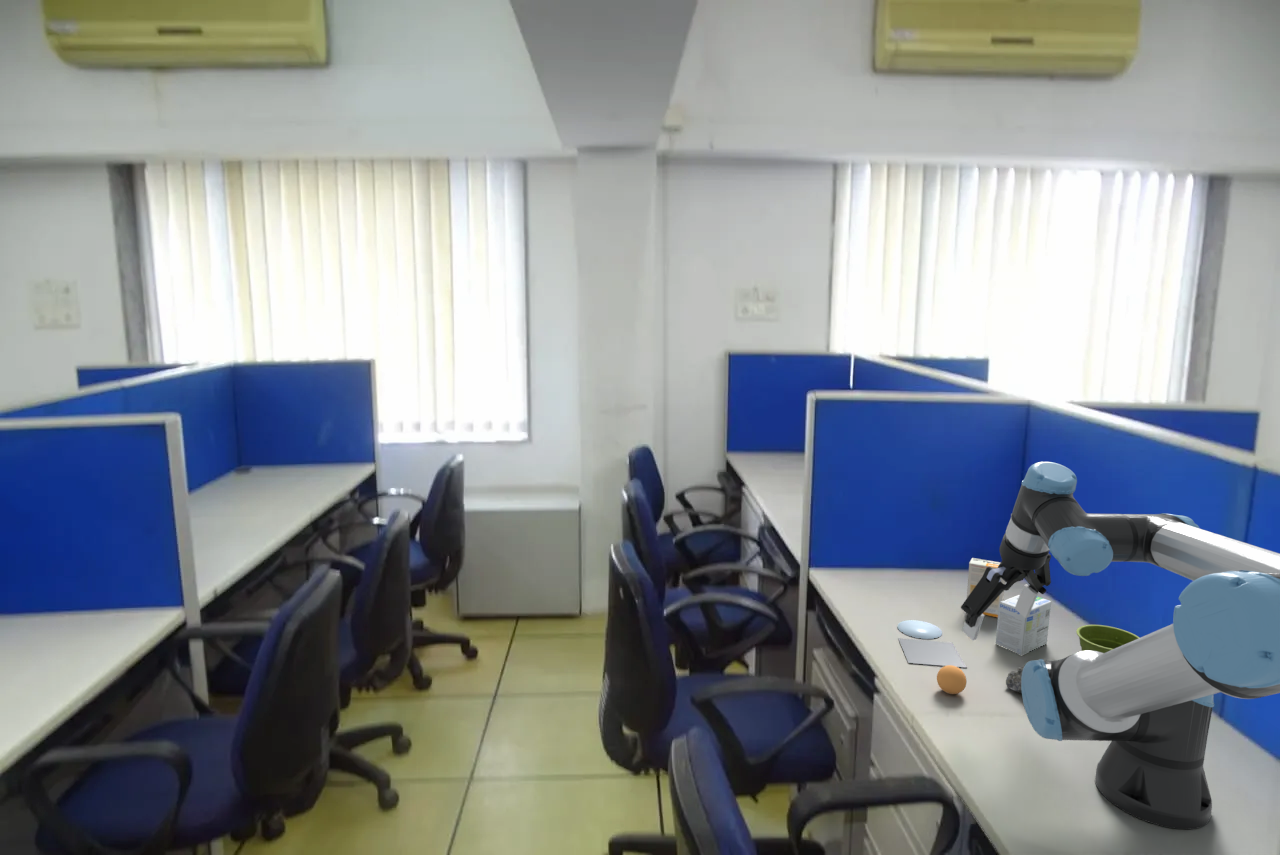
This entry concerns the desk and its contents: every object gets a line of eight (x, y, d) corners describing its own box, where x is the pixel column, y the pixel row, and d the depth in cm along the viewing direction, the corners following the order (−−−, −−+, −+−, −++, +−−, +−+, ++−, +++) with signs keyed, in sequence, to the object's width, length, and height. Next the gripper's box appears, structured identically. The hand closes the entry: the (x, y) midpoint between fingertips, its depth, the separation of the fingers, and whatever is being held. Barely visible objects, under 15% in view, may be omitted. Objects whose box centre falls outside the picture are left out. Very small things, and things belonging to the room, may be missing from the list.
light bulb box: (1019, 633, 174) (1024, 590, 172) (1048, 645, 169) (1053, 600, 167) (993, 645, 168) (998, 600, 167) (1022, 656, 163) (1027, 611, 161)
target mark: (966, 668, 157) (966, 667, 157) (908, 663, 159) (908, 662, 159) (952, 643, 169) (952, 642, 169) (898, 639, 171) (898, 638, 171)
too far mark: (946, 640, 170) (946, 640, 170) (901, 637, 172) (901, 636, 172) (936, 622, 180) (936, 621, 180) (894, 619, 181) (894, 618, 181)
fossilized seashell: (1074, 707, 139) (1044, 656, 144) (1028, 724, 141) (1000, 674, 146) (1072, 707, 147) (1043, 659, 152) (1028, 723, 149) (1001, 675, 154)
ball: (968, 700, 144) (971, 674, 144) (939, 698, 145) (941, 672, 144) (961, 686, 150) (963, 661, 149) (932, 684, 151) (935, 659, 150)
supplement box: (1002, 612, 186) (1007, 563, 184) (1000, 618, 182) (1005, 568, 180) (967, 604, 191) (972, 556, 189) (964, 611, 187) (969, 562, 185)
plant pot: (1068, 669, 157) (1074, 620, 155) (1134, 682, 152) (1140, 631, 150) (1073, 695, 147) (1079, 642, 145) (1143, 710, 142) (1151, 655, 140)
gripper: (1059, 510, 137) (1026, 591, 149) (958, 547, 128) (931, 630, 140) (1094, 534, 131) (1058, 617, 143) (991, 574, 123) (961, 659, 134)
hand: (995, 623), depth 141 cm, fingers open, 13 cm apart
